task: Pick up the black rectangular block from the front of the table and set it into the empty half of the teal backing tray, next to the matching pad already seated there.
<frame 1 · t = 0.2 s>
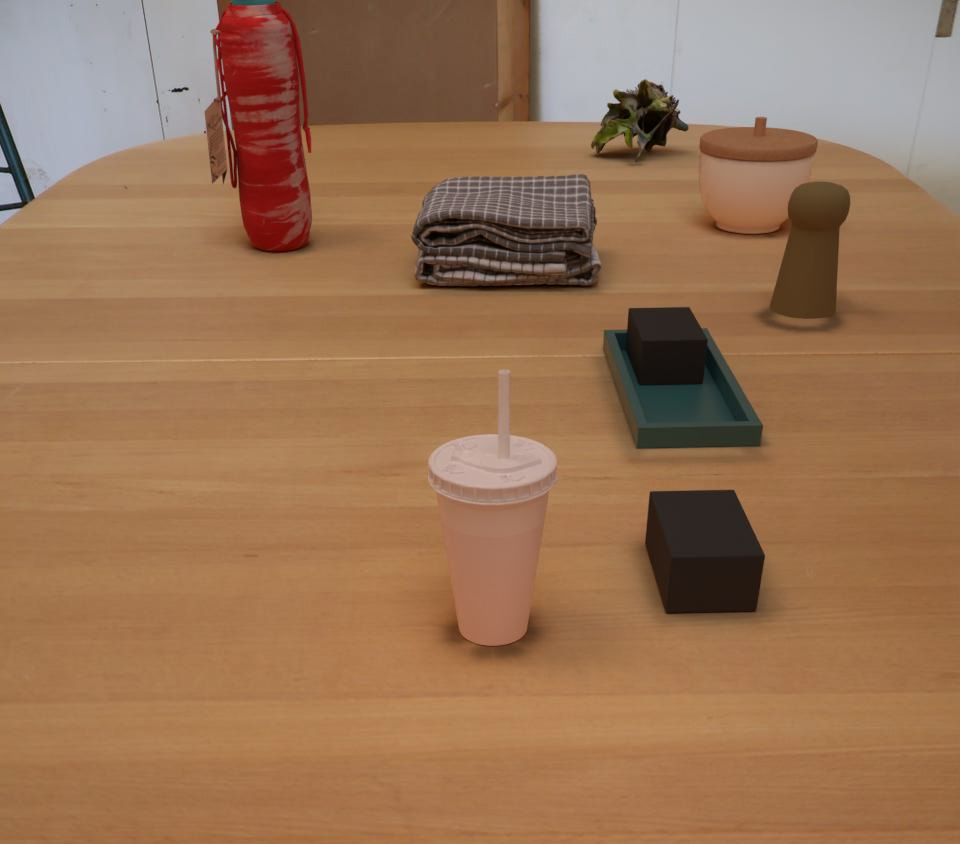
seated pad: (662, 366, 90), resting on backing tray
backing tray: (673, 399, 86), on the table
smoothie: (492, 630, 61), on the table
green leafy plant: (637, 158, 160), on the table
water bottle: (267, 247, 123), on the table
towel: (508, 271, 115), on the table
pepper mill: (801, 316, 103), on the table
black rectangular block: (697, 576, 65), on the table
lidded bowl: (747, 227, 128), on the table
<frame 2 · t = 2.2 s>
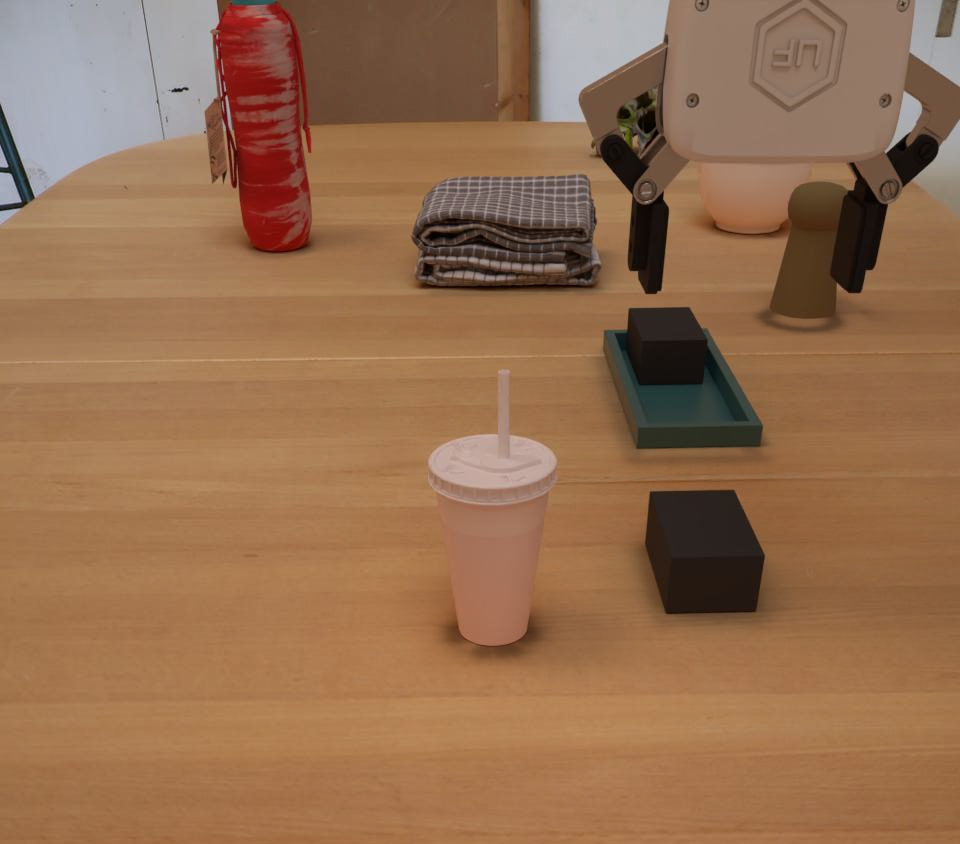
hand: (746, 285, 55), 16 cm above the table, tool pointing down, fingers open, 9 cm apart
nothing on the table moved.
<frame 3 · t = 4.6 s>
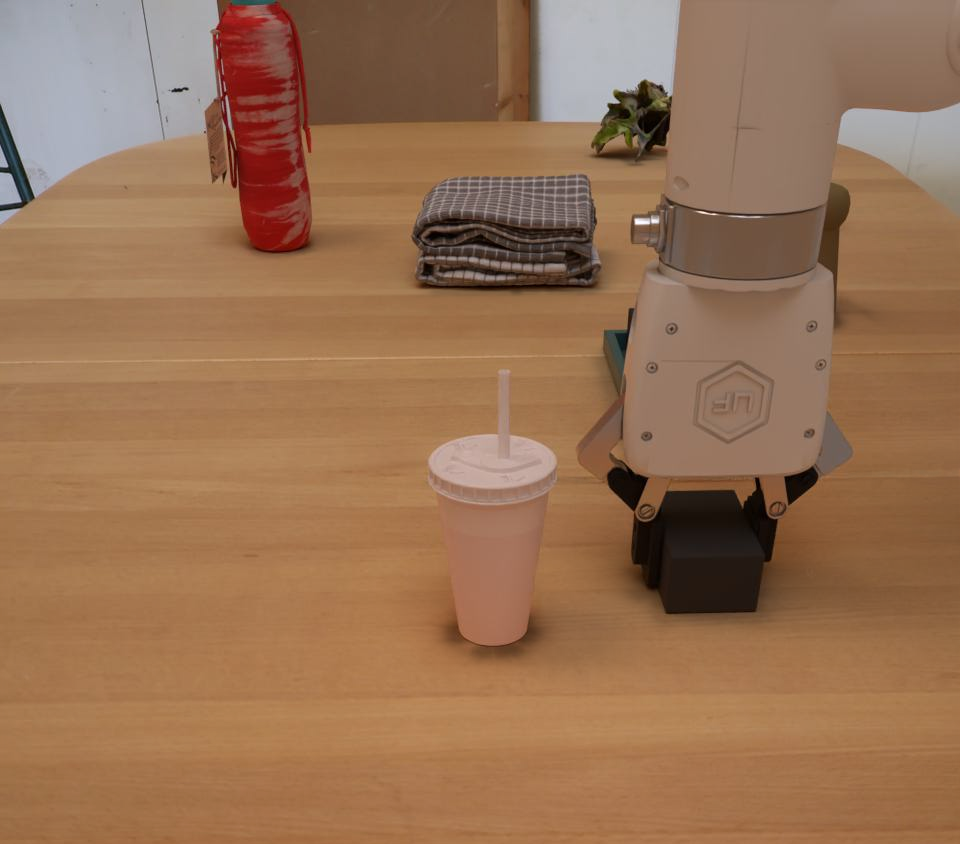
hand: (698, 569, 64), 0 cm above the table, tool pointing down, fingers closed on black rectangular block, 5 cm apart
black rectangular block: (697, 576, 65), on the table, touching gripper
everything else where it was.
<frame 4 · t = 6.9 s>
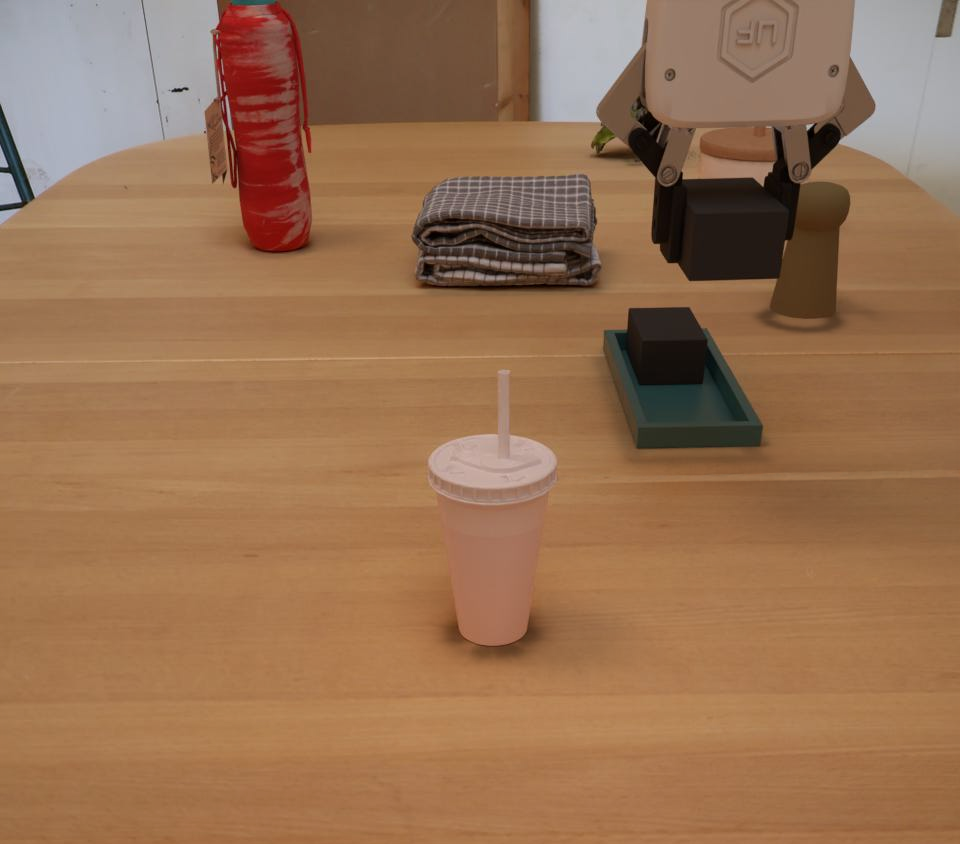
hand: (719, 252, 64), 15 cm above the table, tool pointing down, fingers closed on black rectangular block, 5 cm apart
black rectangular block: (718, 260, 64), point 15 cm above the table, touching gripper
everything else where it was.
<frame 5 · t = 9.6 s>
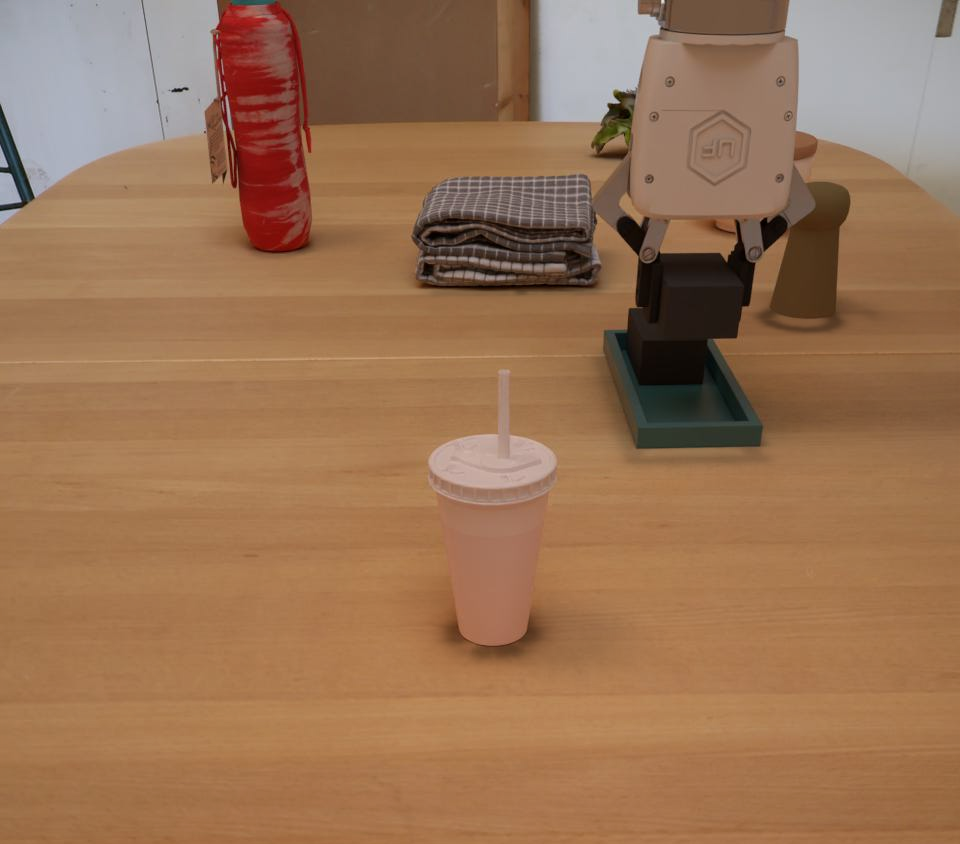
hand: (690, 314, 78), 8 cm above the table, tool pointing down, fingers closed on black rectangular block, 5 cm apart
black rectangular block: (689, 320, 79), point 7 cm above the table, touching gripper
everything else where it was.
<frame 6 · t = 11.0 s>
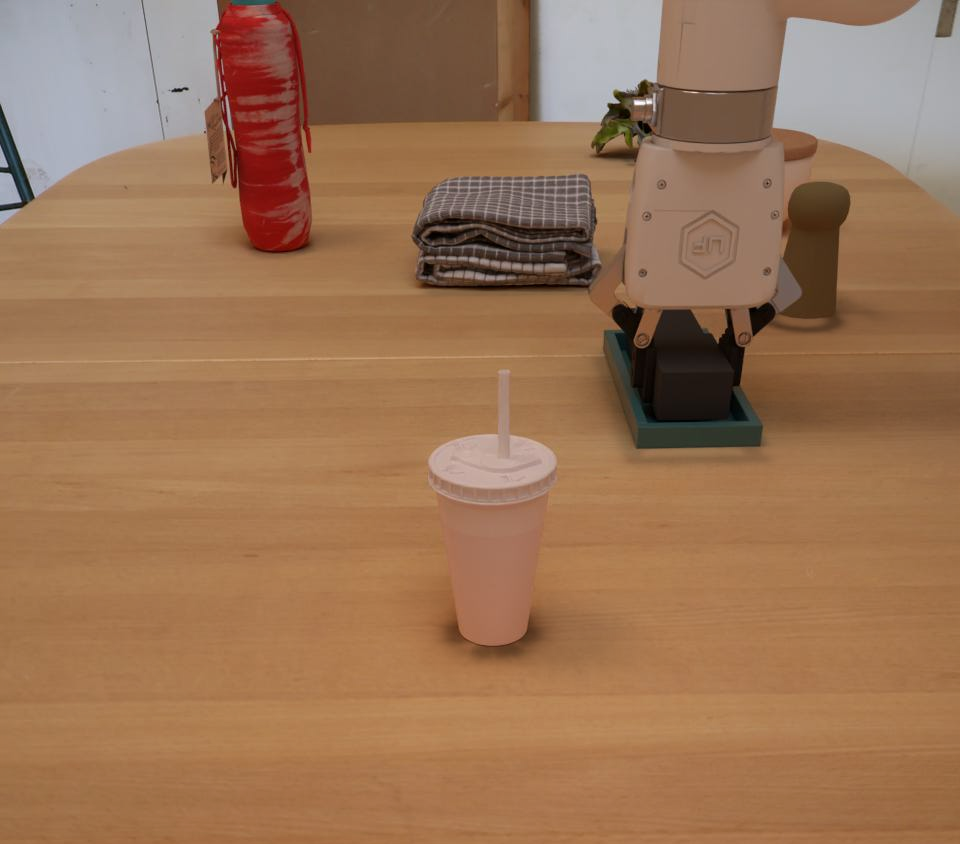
hand: (683, 393, 82), 2 cm above the table, tool pointing down, fingers closed on black rectangular block, 5 cm apart
black rectangular block: (682, 399, 82), point 2 cm above the table, touching gripper
everything else where it was.
when the fingers open (2 cm above the table, at t = 14.9 s): black rectangular block drops 1 cm, resting on backing tray.
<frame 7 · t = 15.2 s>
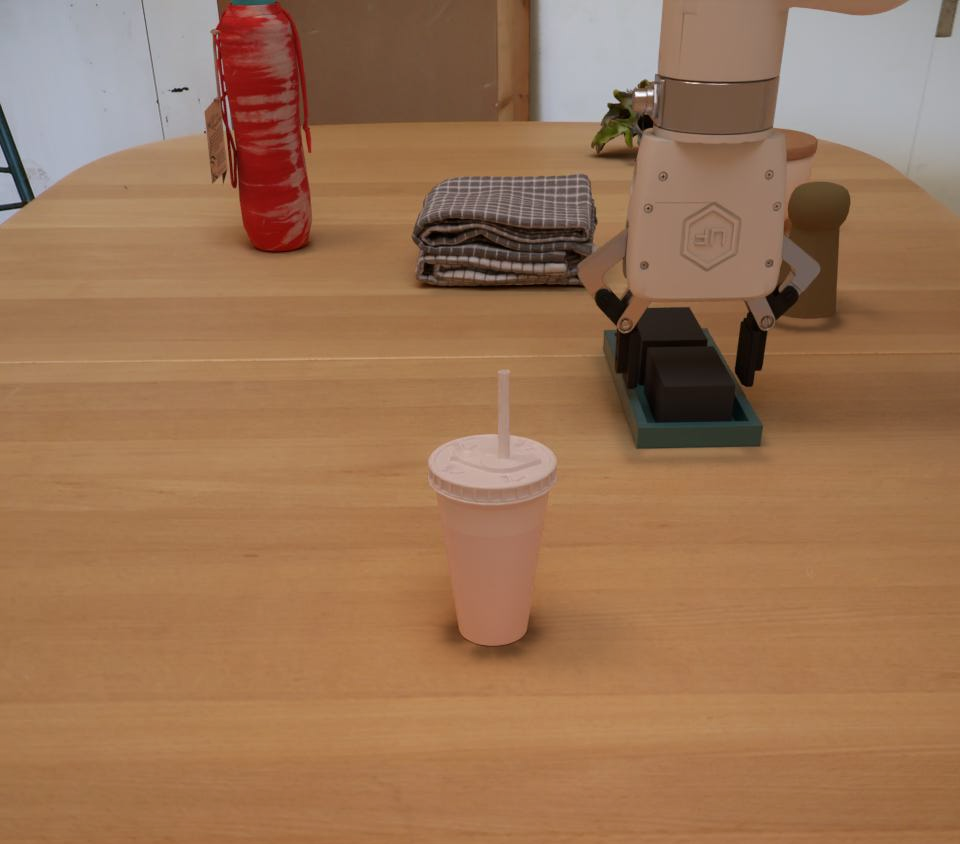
hand: (686, 380, 81), 3 cm above the table, tool pointing down, fingers open, 7 cm apart
black rectangular block: (685, 412, 83), point 1 cm above the table, touching backing tray
everything else where it was.
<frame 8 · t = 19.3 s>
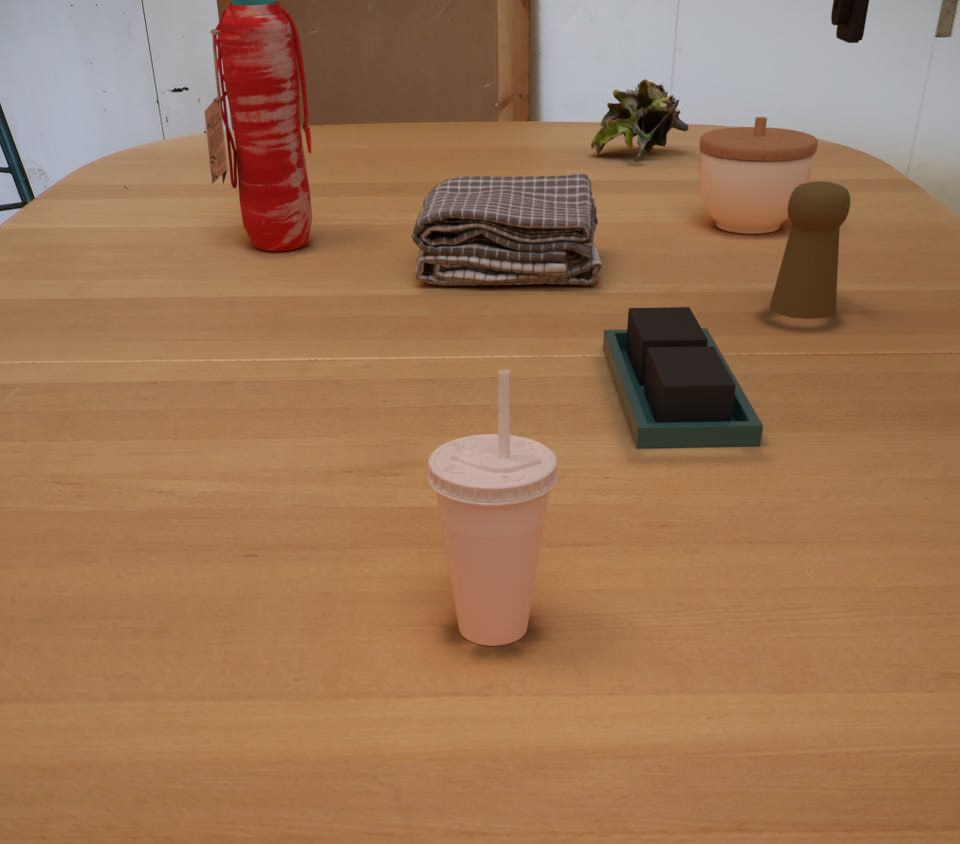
hand: (928, 39, 67), 24 cm above the table, tool pointing down, fingers open, 9 cm apart
nothing on the table moved.
at the end: black rectangular block 0.3 cm from the target spot in the backing tray, point 0.6 cm above the backing tray's base; black rectangular block tilted 0°; the gripper is holding nothing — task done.
